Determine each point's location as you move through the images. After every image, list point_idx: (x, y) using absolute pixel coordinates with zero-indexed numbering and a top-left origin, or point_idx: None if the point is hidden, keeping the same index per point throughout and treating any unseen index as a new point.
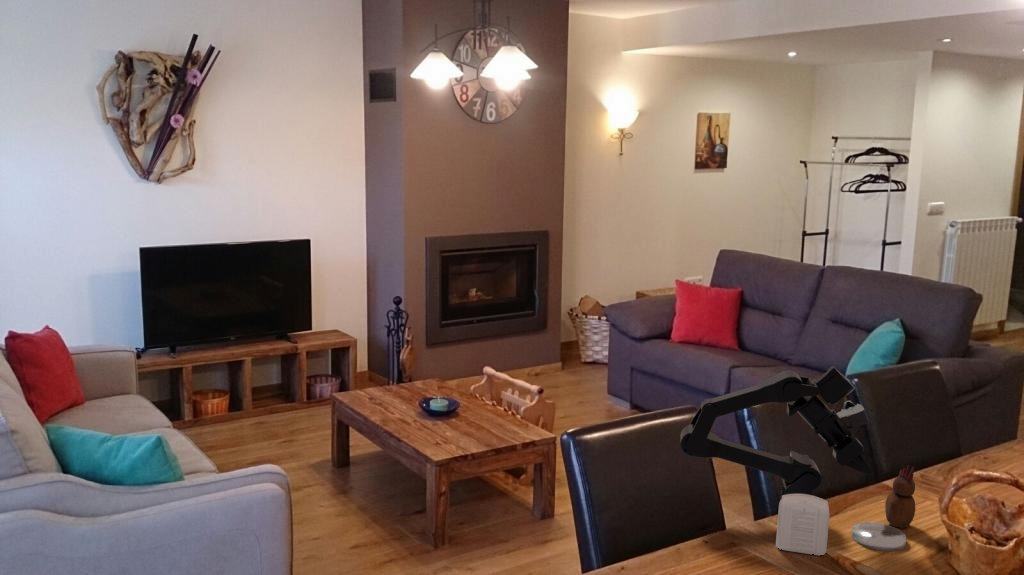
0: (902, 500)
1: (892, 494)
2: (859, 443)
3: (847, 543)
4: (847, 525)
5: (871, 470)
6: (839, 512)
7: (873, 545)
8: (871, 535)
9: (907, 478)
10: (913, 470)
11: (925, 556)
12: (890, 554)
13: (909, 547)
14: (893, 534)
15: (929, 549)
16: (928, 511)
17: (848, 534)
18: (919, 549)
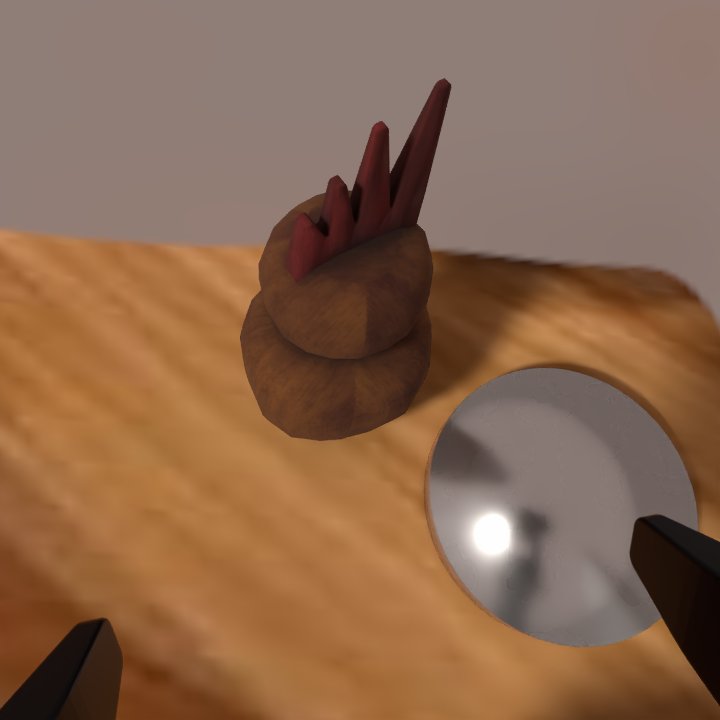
0: (421, 324)
1: (356, 374)
2: None
3: (677, 667)
4: (432, 662)
5: (700, 537)
6: (247, 713)
7: None
8: (614, 535)
9: (394, 216)
10: (439, 116)
11: (626, 316)
12: (687, 454)
13: (568, 367)
14: (546, 422)
15: (548, 294)
16: (119, 247)
17: (556, 658)
18: (568, 331)
